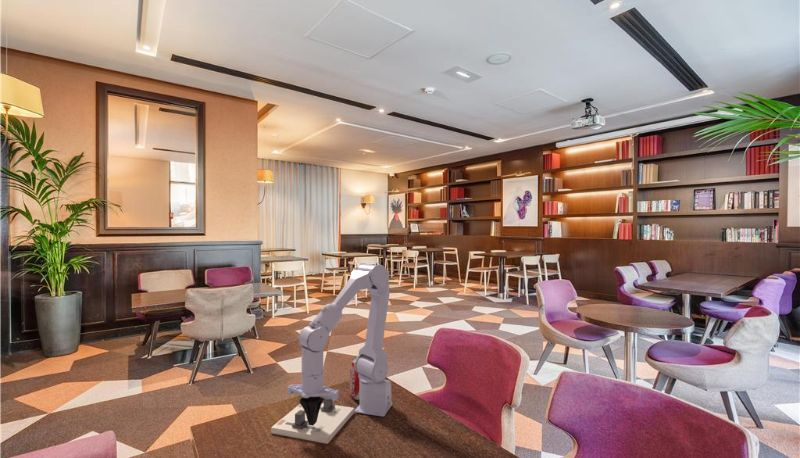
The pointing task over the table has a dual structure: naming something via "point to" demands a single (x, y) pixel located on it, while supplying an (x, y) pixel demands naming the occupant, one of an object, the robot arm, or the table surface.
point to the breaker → (327, 405)
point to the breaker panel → (320, 430)
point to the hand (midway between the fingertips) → (312, 423)
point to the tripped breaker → (300, 419)
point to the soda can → (354, 381)
